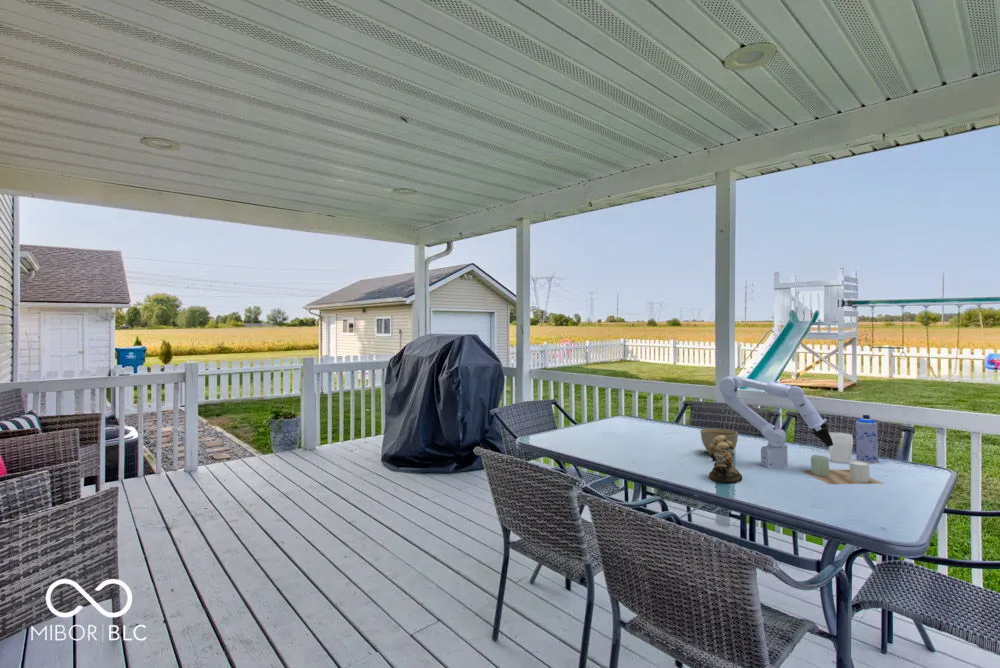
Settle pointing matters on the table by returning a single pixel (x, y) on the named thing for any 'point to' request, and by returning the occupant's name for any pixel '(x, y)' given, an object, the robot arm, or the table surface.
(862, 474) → the white acorn nut
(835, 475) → the walnut board
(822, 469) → the sage green acorn nut
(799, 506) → the table surface
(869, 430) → the aerosol can
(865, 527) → the table surface
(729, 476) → the owl figurine
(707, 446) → the planter bowl
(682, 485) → the table surface
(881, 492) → the table surface
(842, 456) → the cup
